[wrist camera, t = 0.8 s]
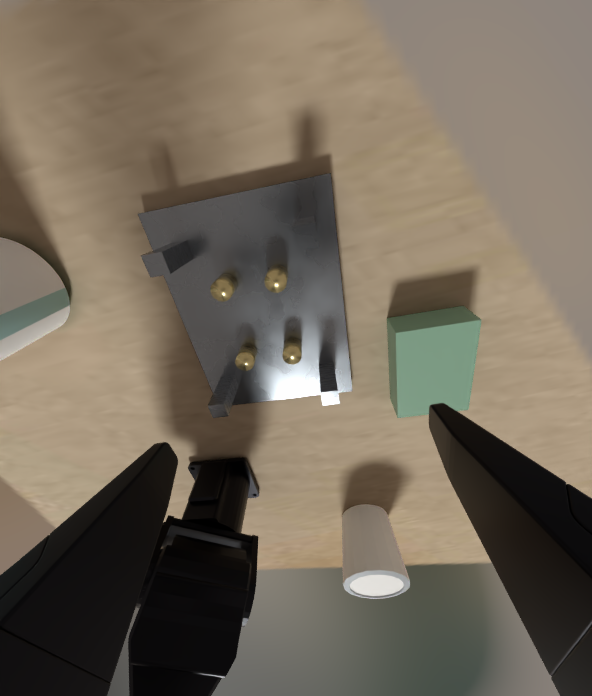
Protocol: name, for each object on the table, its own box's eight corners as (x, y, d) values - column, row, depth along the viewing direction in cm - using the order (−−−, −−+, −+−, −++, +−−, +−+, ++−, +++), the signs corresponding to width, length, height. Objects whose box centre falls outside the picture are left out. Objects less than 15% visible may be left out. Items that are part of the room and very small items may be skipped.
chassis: (351, 385, 24) (359, 422, 21) (221, 400, 26) (206, 437, 22) (329, 173, 17) (336, 170, 13) (144, 212, 18) (100, 220, 14)
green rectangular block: (452, 387, 25) (468, 409, 22) (389, 395, 25) (397, 417, 23) (461, 304, 21) (481, 319, 18) (385, 316, 21) (395, 333, 19)
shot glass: (398, 526, 36) (417, 596, 29) (346, 535, 37) (354, 603, 31) (384, 496, 32) (402, 567, 26) (329, 507, 34) (333, 577, 28)
